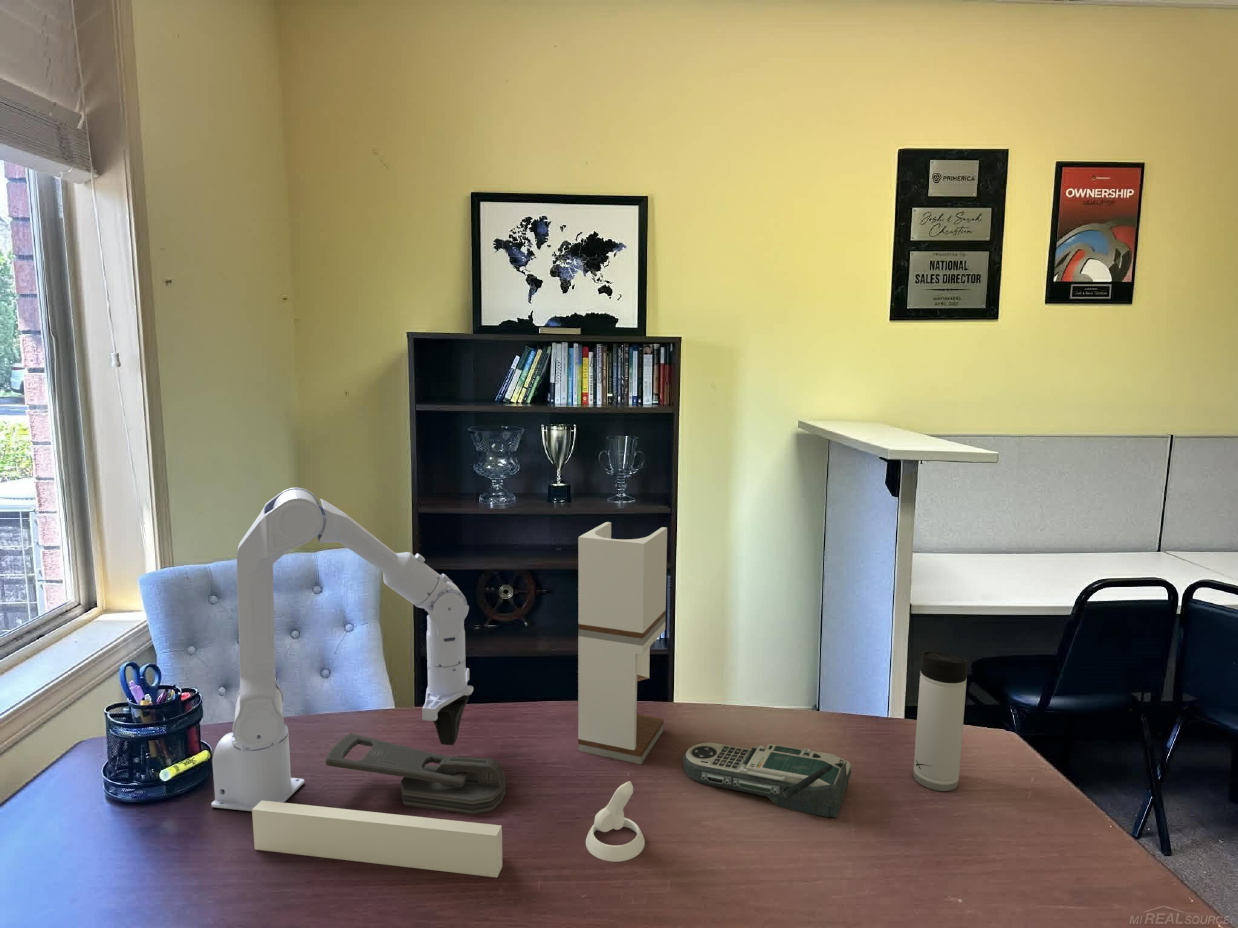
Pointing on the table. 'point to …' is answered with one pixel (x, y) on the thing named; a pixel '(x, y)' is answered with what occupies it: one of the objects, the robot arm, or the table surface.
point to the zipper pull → (428, 775)
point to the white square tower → (618, 639)
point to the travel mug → (940, 720)
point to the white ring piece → (615, 820)
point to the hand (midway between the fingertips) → (448, 742)
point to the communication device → (774, 774)
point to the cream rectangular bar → (378, 838)
